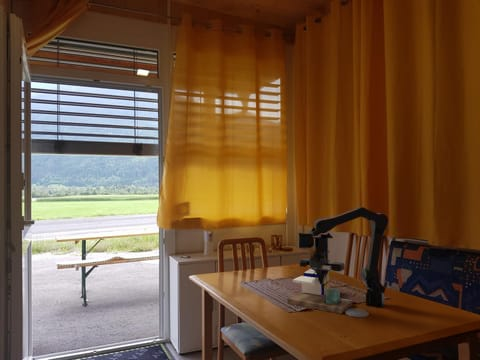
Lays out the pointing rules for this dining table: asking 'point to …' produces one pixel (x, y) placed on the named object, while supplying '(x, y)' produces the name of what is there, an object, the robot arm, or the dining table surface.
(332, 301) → the block
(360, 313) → the slate mat
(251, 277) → the dining table surface
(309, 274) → the puzzle cube
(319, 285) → the slide cover
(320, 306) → the puzzle board
